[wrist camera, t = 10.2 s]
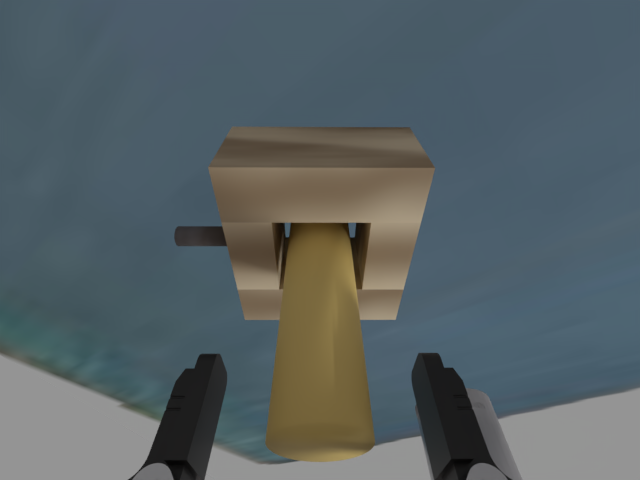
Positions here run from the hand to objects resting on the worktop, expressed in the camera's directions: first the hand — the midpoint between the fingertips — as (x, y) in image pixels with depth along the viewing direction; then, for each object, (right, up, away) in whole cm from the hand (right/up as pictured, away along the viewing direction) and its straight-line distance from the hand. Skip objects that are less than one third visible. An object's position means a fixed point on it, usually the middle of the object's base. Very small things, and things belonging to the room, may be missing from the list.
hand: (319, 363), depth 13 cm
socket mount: (-2, +7, +8) cm, 11 cm away
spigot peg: (0, +7, +8) cm, 11 cm away
